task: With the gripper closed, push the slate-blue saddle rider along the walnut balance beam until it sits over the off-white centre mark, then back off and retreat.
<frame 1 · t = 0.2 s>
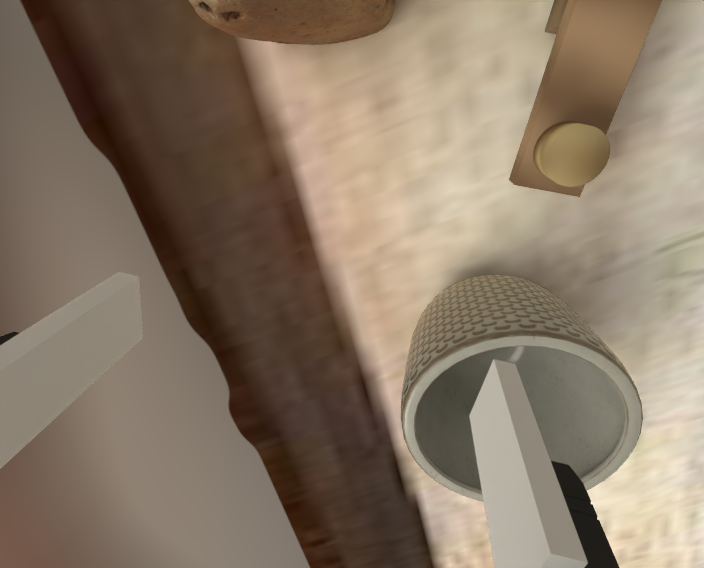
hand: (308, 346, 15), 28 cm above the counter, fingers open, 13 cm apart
planter: (483, 319, 45), on the counter
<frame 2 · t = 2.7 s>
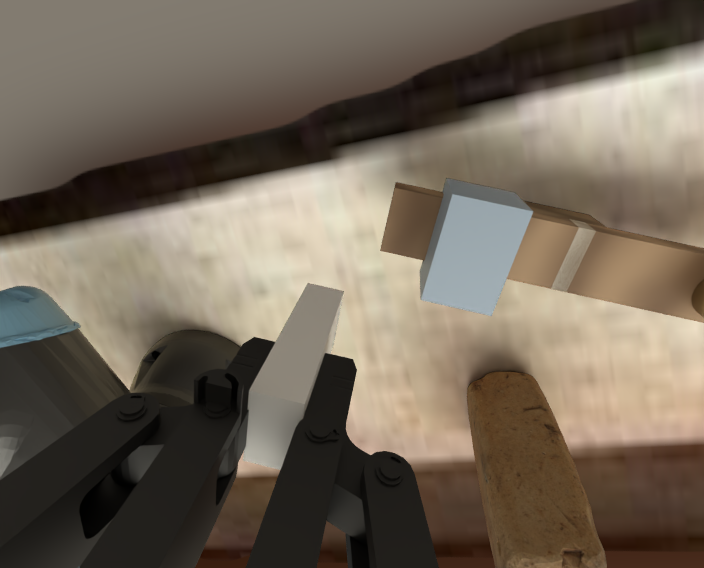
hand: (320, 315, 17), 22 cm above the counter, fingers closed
block: (500, 402, 45), on the counter
beam: (544, 231, 36), on the counter
rider: (468, 245, 29), point 9 cm above the counter, slide at -8.0 cm
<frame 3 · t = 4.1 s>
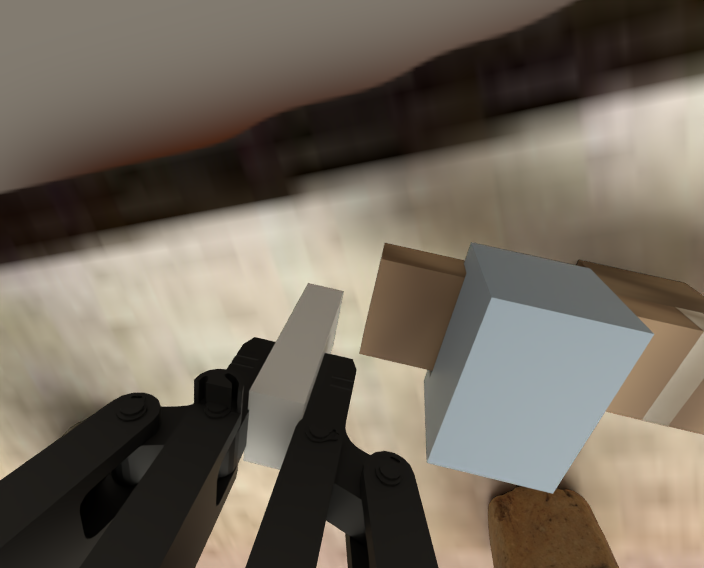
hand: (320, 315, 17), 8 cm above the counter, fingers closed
block: (532, 519, 33), on the counter
beam: (613, 304, 24), on the counter
rider: (510, 363, 16), point 9 cm above the counter, slide at -8.0 cm
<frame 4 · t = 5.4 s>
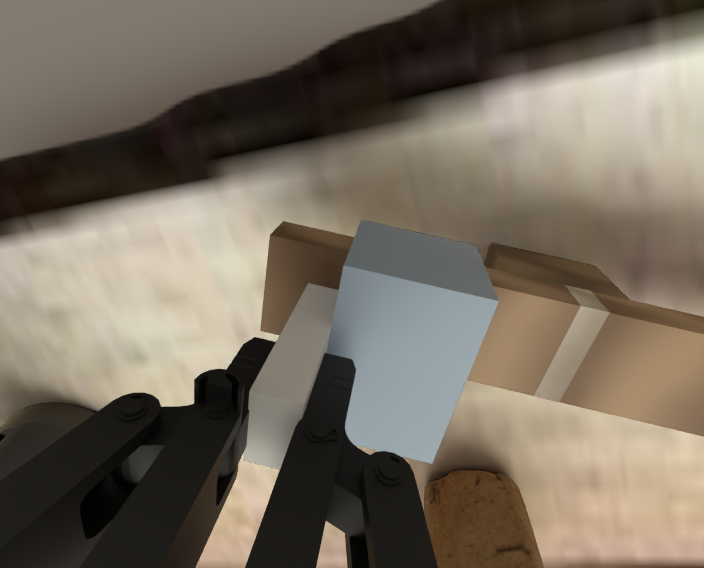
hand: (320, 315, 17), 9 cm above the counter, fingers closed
block: (470, 504, 33), on the counter
beam: (528, 287, 24), on the counter
rider: (395, 337, 17), point 9 cm above the counter, slide at -7.8 cm, touching gripper
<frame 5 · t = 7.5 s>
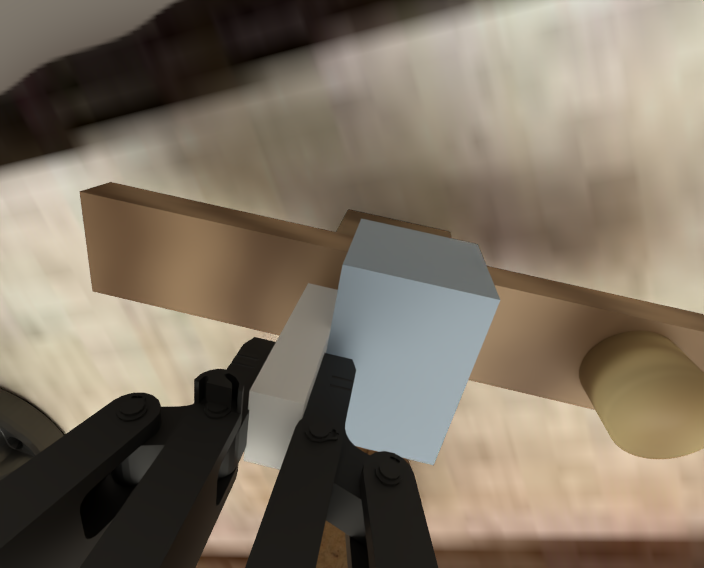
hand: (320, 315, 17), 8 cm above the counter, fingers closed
block: (372, 480, 33), on the counter
beam: (390, 255, 24), on the counter
rider: (396, 337, 16), point 9 cm above the counter, slide at 0.7 cm, touching gripper
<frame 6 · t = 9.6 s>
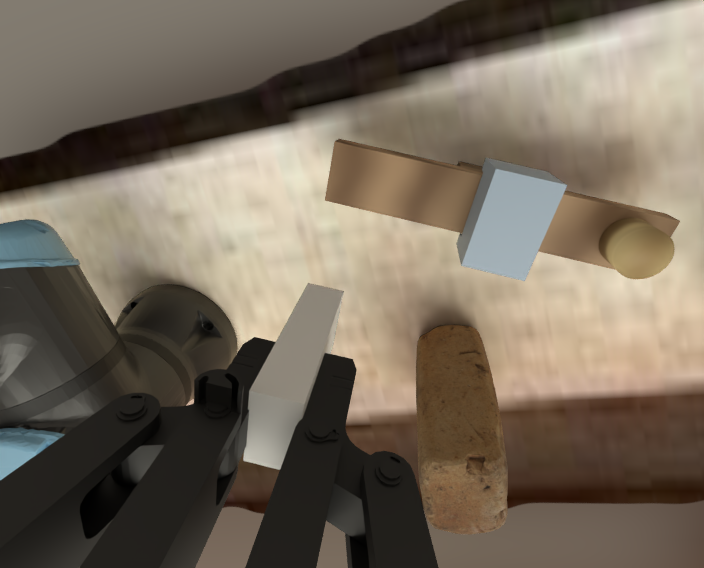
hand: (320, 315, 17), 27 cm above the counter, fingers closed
block: (449, 356, 49), on the counter
beam: (481, 190, 40), on the counter
rider: (504, 218, 32), point 9 cm above the counter, slide at 0.7 cm
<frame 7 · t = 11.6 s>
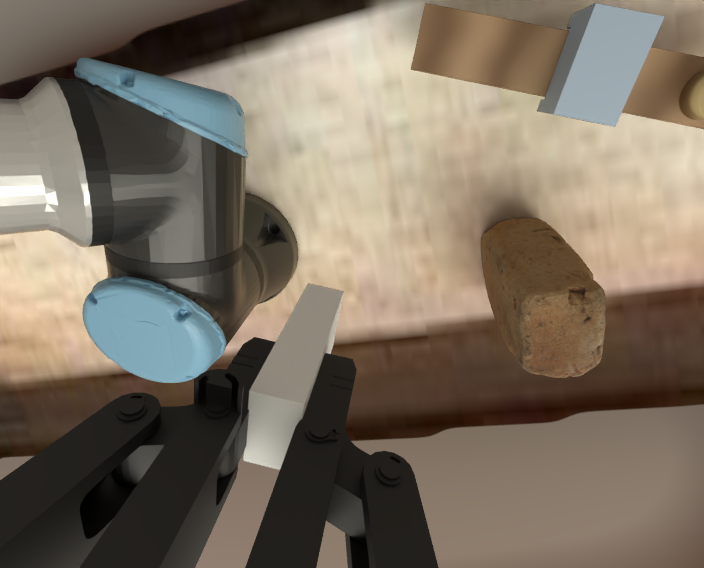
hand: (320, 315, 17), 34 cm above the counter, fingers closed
block: (510, 255, 50), on the counter
beam: (552, 71, 41), on the counter
rider: (593, 69, 33), point 9 cm above the counter, slide at 0.7 cm
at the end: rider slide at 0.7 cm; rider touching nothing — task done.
